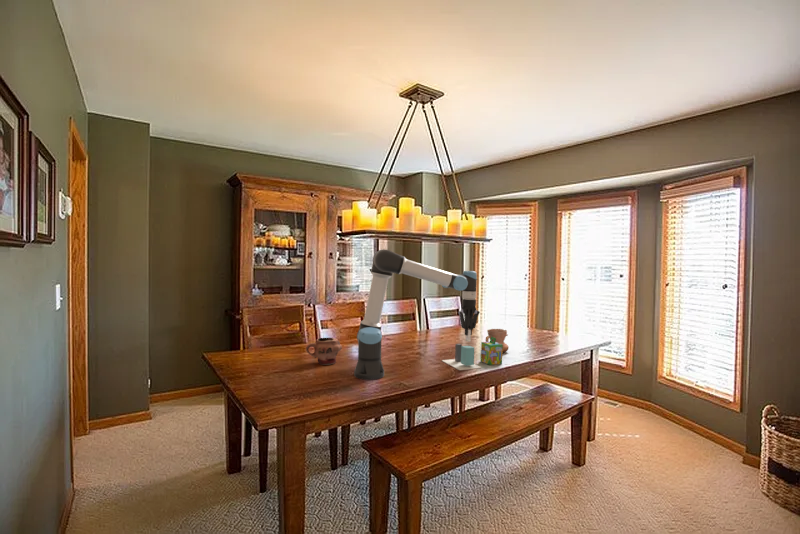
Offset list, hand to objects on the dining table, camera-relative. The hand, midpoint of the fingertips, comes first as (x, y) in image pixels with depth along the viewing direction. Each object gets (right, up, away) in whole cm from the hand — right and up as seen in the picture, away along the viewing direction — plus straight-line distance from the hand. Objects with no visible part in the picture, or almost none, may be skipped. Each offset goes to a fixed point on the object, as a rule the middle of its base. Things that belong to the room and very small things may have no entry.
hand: (468, 341), depth 229 cm
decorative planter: (-80, -13, 0) cm, 81 cm away
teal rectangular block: (0, -13, 0) cm, 13 cm away
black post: (-4, -14, +10) cm, 18 cm away
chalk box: (+15, -15, +10) cm, 23 cm away
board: (-3, -14, +5) cm, 15 cm away
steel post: (0, -14, 0) cm, 14 cm away
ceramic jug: (+24, -14, +38) cm, 47 cm away
